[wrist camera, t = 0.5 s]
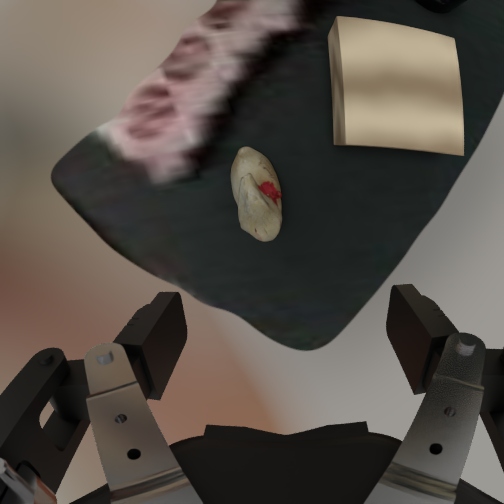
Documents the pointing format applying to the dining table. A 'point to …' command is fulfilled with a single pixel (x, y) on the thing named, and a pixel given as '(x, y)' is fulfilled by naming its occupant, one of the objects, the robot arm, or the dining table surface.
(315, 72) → the dining table surface
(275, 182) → the chocolate bunny
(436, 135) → the beech block
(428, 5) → the supplement bottle
